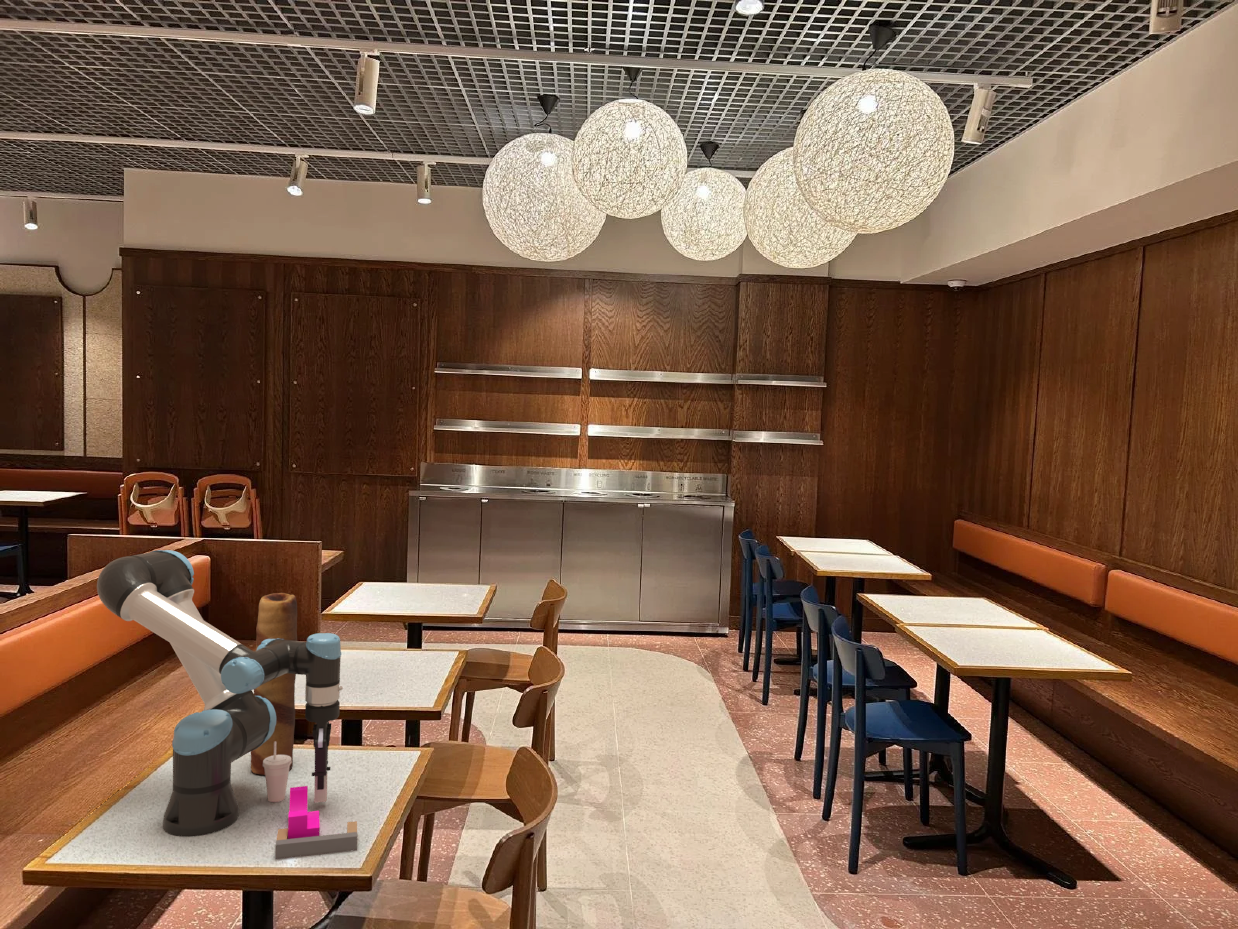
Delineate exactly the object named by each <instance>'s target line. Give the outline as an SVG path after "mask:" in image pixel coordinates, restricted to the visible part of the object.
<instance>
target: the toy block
mask: <svg viewBox="0 0 1238 929" xmlns="http://www.w3.org/2000/svg"><path fill="white" fill-rule="evenodd" d="M308 788H309V787H308V785H303V786H294V787H289V808H288V810H289V811H288V815H287V816H288V819H287V820H288V822H287V823H288V827H287V828H288V839H294V838H304V837H313V836H321V835H320V833H321V832H320V829H321V828H320V827H321V825H320V810H314V811H313V810H312V811H308V796H309V795H308V791H309V790H308Z"/></svg>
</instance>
